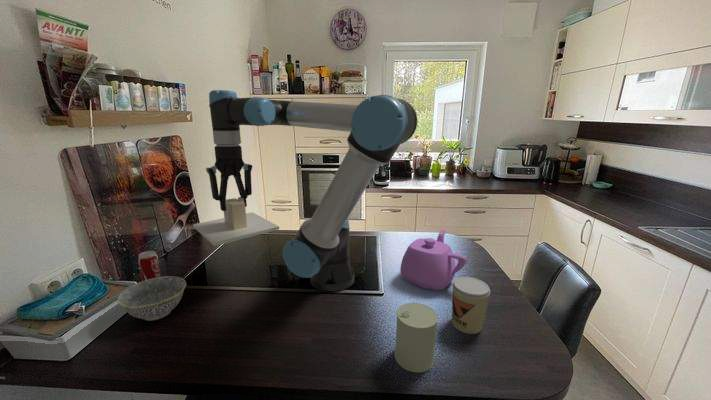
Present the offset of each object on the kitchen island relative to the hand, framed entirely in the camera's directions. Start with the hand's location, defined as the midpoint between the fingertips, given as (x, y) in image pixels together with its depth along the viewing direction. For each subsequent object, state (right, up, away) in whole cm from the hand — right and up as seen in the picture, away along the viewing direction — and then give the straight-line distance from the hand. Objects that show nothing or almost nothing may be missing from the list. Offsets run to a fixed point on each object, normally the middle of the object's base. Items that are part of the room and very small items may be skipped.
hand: (235, 218), depth 96 cm
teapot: (+64, -22, +9) cm, 68 cm away
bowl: (-18, -27, -11) cm, 34 cm away
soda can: (-28, -23, +3) cm, 36 cm away
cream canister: (+69, -28, -15) cm, 76 cm away
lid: (0, -3, +1) cm, 3 cm away
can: (+53, -31, -26) cm, 66 cm away
